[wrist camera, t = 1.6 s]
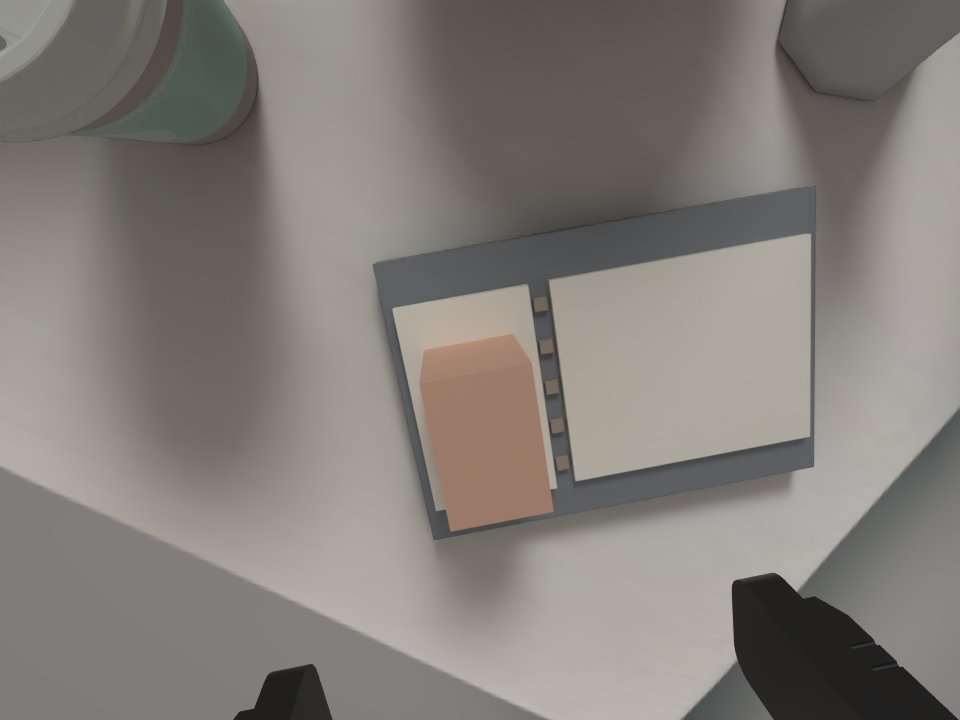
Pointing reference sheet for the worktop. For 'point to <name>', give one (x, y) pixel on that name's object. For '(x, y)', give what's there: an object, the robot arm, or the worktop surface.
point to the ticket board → (650, 345)
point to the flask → (864, 41)
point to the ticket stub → (479, 405)
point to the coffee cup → (123, 70)
